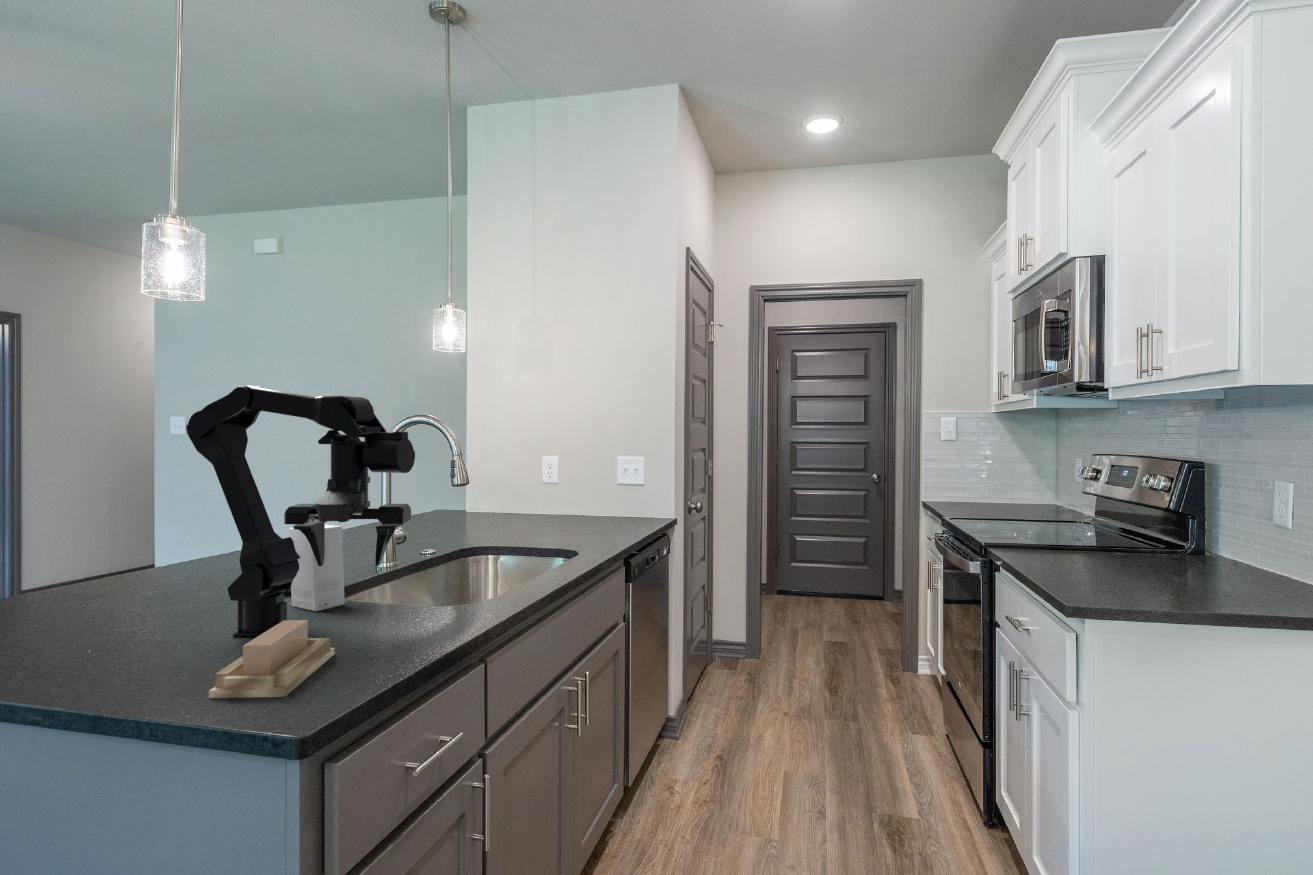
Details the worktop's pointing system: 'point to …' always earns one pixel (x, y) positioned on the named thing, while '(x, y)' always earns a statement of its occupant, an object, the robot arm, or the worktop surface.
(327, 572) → the skincare box
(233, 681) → the tray
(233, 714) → the worktop surface
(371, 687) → the worktop surface
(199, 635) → the worktop surface
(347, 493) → the robot arm
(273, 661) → the clay bar
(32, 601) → the worktop surface
